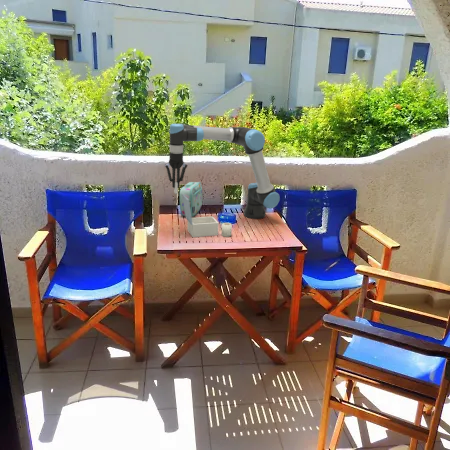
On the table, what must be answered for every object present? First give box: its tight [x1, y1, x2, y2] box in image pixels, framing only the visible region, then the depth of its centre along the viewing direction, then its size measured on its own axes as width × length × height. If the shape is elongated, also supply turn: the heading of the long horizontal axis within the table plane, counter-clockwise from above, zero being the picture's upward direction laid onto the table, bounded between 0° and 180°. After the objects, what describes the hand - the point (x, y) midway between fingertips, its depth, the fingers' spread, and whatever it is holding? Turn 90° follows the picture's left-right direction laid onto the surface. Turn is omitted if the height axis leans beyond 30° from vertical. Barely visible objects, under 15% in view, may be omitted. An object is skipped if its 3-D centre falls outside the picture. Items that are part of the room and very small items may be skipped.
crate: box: [186, 216, 220, 238], centre depth 256 cm, size 16×12×8 cm
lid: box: [182, 194, 193, 225], centre depth 249 cm, size 16×12×1 cm
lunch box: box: [179, 181, 203, 218], centre depth 288 cm, size 27×10×21 cm, turn 168°
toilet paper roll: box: [220, 222, 233, 238], centre depth 254 cm, size 6×6×7 cm
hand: (175, 192), depth 243 cm, fingers closed
